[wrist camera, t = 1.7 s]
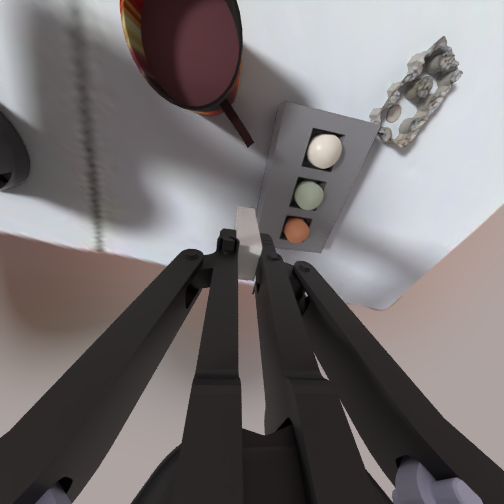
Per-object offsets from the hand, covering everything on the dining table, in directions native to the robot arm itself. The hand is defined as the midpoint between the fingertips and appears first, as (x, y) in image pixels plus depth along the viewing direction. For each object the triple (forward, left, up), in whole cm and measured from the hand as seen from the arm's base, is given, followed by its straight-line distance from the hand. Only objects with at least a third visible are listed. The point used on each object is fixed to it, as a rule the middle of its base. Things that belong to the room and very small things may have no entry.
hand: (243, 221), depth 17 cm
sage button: (+11, 0, -16) cm, 19 cm away
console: (+11, 0, -19) cm, 22 cm away
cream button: (+11, +6, -16) cm, 21 cm away
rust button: (+11, -7, -16) cm, 21 cm away
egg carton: (+23, +15, -20) cm, 34 cm away
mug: (-5, +12, -20) cm, 23 cm away
